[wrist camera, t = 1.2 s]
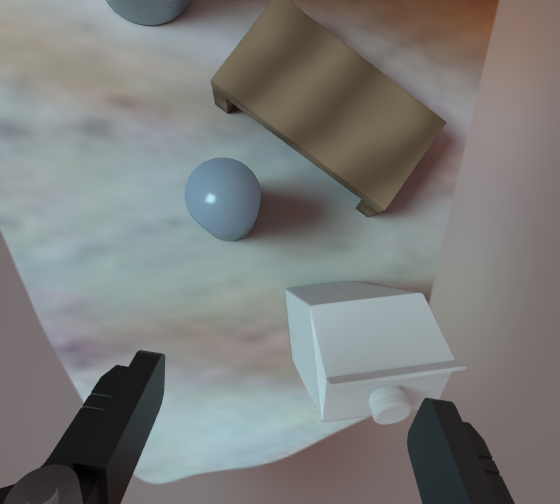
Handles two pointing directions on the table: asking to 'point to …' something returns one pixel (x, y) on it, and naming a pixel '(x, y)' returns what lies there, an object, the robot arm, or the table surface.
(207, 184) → the blue dome-topped cylinder
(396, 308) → the milk carton
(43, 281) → the table surface
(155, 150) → the table surface
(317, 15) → the table surface
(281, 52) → the shelf
